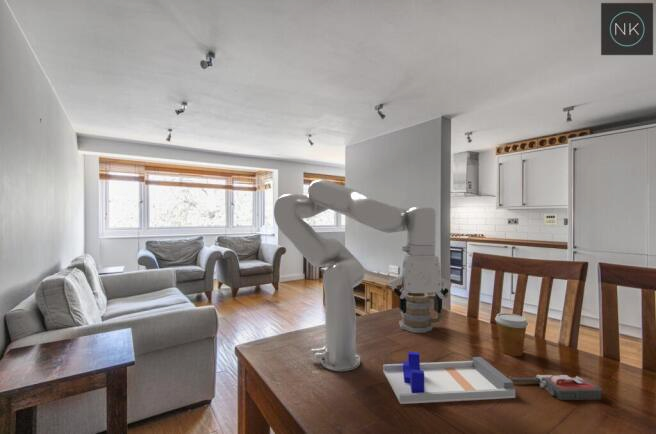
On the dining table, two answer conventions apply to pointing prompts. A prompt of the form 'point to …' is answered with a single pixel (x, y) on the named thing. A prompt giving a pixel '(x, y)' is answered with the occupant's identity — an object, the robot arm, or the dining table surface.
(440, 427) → the dining table surface
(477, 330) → the dining table surface
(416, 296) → the tankard
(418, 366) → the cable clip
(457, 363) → the channel
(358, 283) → the robot arm
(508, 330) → the disposable coffee cup
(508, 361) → the dining table surface
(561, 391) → the walkie-talkie
